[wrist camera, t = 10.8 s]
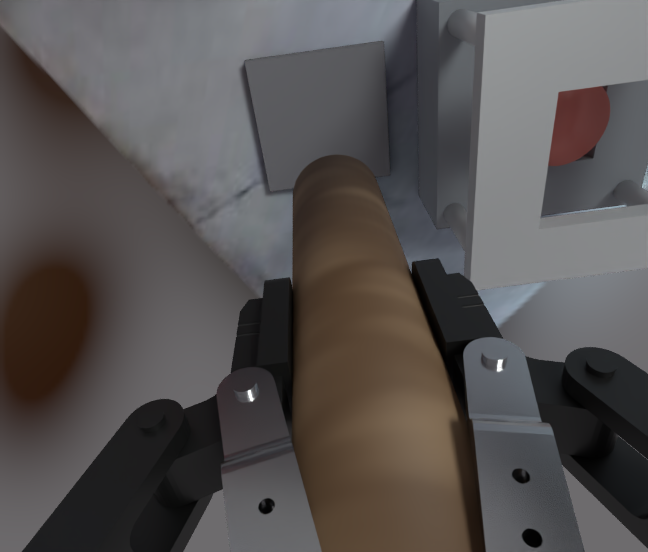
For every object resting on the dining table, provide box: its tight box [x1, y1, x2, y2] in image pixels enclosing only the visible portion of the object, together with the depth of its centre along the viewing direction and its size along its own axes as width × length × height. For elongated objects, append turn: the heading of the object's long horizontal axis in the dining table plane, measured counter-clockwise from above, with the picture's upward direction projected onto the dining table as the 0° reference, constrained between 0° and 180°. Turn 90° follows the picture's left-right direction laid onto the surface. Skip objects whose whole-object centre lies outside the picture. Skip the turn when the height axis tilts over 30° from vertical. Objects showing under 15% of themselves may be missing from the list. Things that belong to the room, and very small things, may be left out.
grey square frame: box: [416, 0, 648, 290], centre depth 25 cm, size 12×12×12 cm
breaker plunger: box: [548, 86, 610, 166], centre depth 26 cm, size 4×4×5 cm
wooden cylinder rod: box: [292, 154, 483, 552], centre depth 13 cm, size 4×4×16 cm
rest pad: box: [245, 41, 390, 191], centre depth 30 cm, size 8×8×1 cm
